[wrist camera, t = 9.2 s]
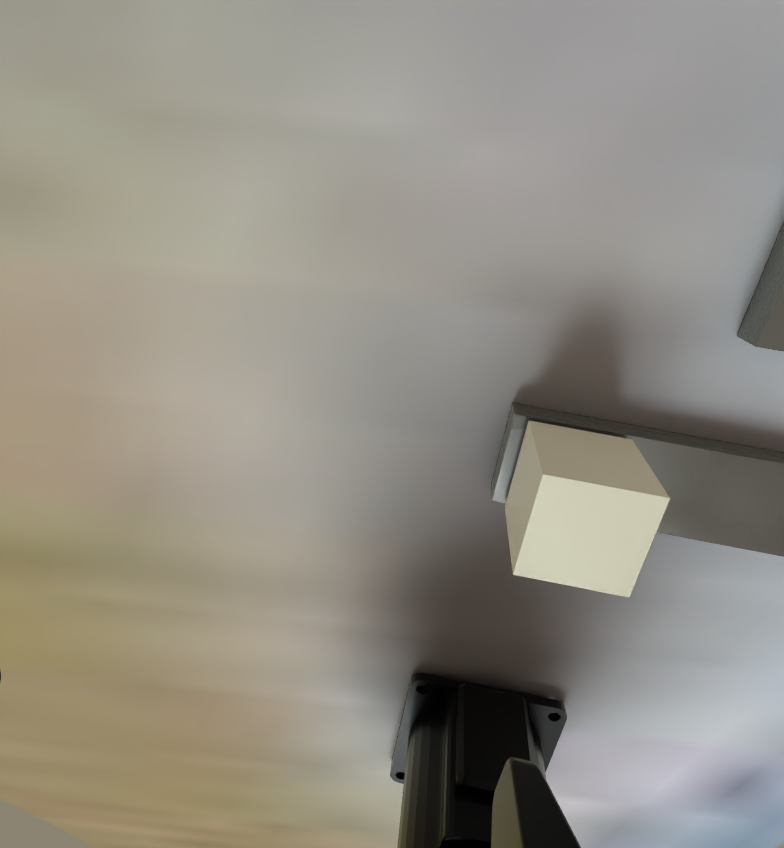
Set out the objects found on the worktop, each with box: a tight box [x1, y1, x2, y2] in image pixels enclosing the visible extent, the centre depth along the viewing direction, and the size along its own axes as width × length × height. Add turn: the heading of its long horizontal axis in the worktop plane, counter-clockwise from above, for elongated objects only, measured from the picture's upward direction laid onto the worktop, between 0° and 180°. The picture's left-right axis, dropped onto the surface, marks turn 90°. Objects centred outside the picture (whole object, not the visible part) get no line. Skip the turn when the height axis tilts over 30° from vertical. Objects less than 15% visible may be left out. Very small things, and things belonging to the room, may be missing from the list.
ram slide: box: [505, 421, 670, 597], centre depth 16 cm, size 3×3×4 cm
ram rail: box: [491, 403, 784, 556], centre depth 18 cm, size 3×14×3 cm, turn 81°
